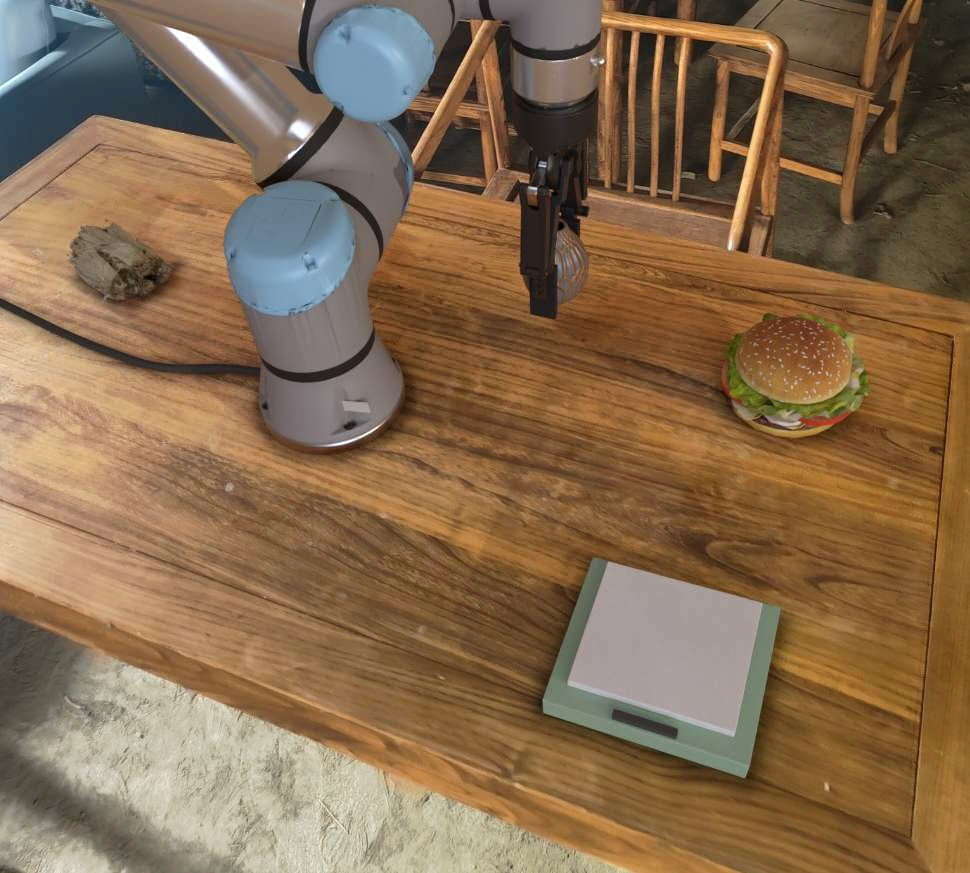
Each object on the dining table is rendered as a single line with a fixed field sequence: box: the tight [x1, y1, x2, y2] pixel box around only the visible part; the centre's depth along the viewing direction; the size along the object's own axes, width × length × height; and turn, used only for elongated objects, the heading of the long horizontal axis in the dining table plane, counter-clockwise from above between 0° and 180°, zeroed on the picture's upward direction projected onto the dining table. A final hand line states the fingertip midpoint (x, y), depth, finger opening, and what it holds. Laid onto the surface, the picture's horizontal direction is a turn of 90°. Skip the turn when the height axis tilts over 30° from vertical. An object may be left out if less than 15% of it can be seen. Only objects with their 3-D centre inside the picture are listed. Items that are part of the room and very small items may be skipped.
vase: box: [521, 218, 590, 306], centre depth 94 cm, size 7×7×9 cm
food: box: [720, 312, 871, 439], centre depth 91 cm, size 14×14×8 cm
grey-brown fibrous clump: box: [65, 219, 175, 304], centre depth 113 cm, size 14×10×5 cm, turn 47°
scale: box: [541, 556, 782, 779], centre depth 75 cm, size 16×14×3 cm
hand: (555, 290), depth 98 cm, fingers closed on vase, 7 cm apart
